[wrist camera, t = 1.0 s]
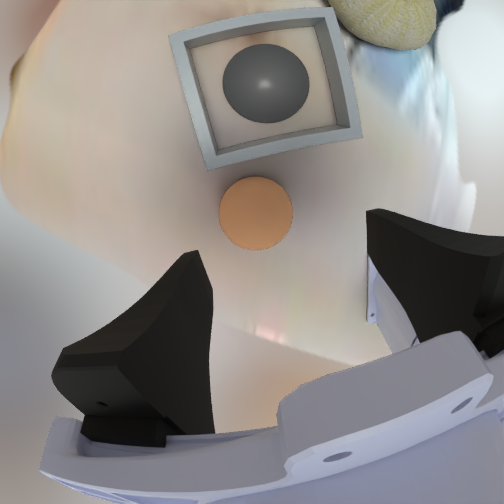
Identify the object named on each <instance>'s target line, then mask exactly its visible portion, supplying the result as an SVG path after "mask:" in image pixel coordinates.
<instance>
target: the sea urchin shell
mask: <svg viewBox="0 0 504 504" xmlns="http://www.w3.org/2000/svg"><path fill="white" fill-rule="evenodd" d="M328 2H329V4H330V6H331V7H333V9H334V12H335V15H336V17H337V18H338V19H339V20H340V21H341V22H342V24H343V25H344V26H345V27H346V28H347V30H348V31H350V32H352V33H353V34H354V35H355V36H357V37H358V38H360V39H362V40H365V41H367V42H370V43H372V44H375V45H377V46H382V47H388V48H392V49H397V50H411V49H413V50H416V49H418V48H421V47H422V46H424V45H425V44H427V43H428V41H429V40H430V38H431V36H432V34H433V32H434V30H436V8H435V5H434V0H328Z"/></svg>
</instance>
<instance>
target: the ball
mask: <svg viewBox="0 0 504 504" xmlns="http://www.w3.org/2000/svg"><path fill="white" fill-rule="evenodd" d="M292 218H293V209H292V204H291V201H290V198H289V196H288V195H287V193H286V192H285V190H284V189H283V188H282V187H281V186H280V185H279V184H277V183H276V182H274V181H272V180H270V179H267V178H264V177H247V178H244V179H241V180H239V181H237V182H236V183H234V184H233V185H232V186H231V187H230V188H229V189H228V190H227V191H226V192H225V194H224V195H223V197H222V200H221V202H220V206H219V221H220V225H221V227H222V229H223V231H224V233H225V235H226V236H227V237H228V238H229V239H230V240H231V241H232V242H233V243H234V244H236V245H238V246H240V247H242V248H245V249H248V250H263V249H267V248H270V247H272V246H274V245H276V244H277V243H278V242H280V241H281V240H282V239H283V238H284V237H285V235H286V234H287V232H288V231H289V228H290V226H291V223H292Z"/></svg>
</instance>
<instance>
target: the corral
mask: <svg viewBox="0 0 504 504" xmlns="http://www.w3.org/2000/svg"><path fill="white" fill-rule="evenodd" d="M307 26H314V27H315V30H316V34H317V37H318V41H319V44H320V48H321V52H322V55H323V59H324V63H325V67H326V71H327V76H328V80H329V84H330V89H331V93H332V98H333V103H334V108H335V113H336V119H337V124H338V125H332V126H326V127H320V128H314V129H308V130H302V131H297V132H292V133H287V134H282V135H277V136H273V137H268V138H264V139H259V140H255V141H251V142H247V143H243V144H239V145H235V146H231V147H227V148H223V149H220V150H218V148H217V145H216V141H215V138H214V134H213V131H212V127H211V124H210V120H209V117H208V113H207V110H206V106H205V103H204V99H203V96H202V92H201V89H200V85H199V81H198V78H197V74H196V71H195V67H194V64H193V60H192V57H191V53H190V49H191V48H194V47H198V46H201V45H205V44H209V43H212V42H216V41H220V40H224V39H229V38H233V37H238V36H243V35H248V34H253V33H259V32H265V31H271V30H279V29H287V28H296V27H307ZM168 36H169V40H170V44H171V47H172V51H173V55H174V58H175V62H176V65H177V69H178V73H179V76H180V80H181V83H182V87H183V90H184V94H185V97H186V101H187V104H188V108H189V111H190V115H191V118H192V121H193V125H194V128H195V132H196V135H197V138H198V142H199V145H200V148H201V152H202V155H203V158H204V162H205V165H206V168H207V171H209V170H213V169H216V168H220V167H224V166H227V165H231V164H235V163H239V162H243V161H247V160H251V159H255V158H259V157H263V156H268V155H272V154H276V153H281V152H286V151H290V150H295V149H300V148H305V147H310V146H316V145H321V144H327V143H333V142H338V141H345V140H351V139H358V138H363V135H362V129H361V122H360V116H359V110H358V104H357V99H356V94H355V89H354V84H353V79H352V75H351V70H350V66H349V62H348V58H347V54H346V50H345V46H344V42H343V39H342V35H341V32H340V28H339V25H338V22H337V18H336V15H335V12H334V9H333V7H315V8H297V9H286V10H277V11H269V12H262V13H255V14H249V15H244V16H239V17H234V18H229V19H224V20H220V21H216V22H212V23H208V24H204V25H200V26H197V27H193V28H190V29H187V30H184V31H180V32H177V33H174V34H171V35H168ZM223 89H224V93H225V96H226V98H227V100H228V102H229V104H230V105H231V106H232V108H233V109H234V110H235V111H236V112H238V113H239V114H240V115H242V116H243V117H245V118H247V119H249V120H252V121H255V122H260V123H274V122H279V121H282V120H285V119H287V118H289V117H291V116H292V115H294V114H295V113H296V112H297V111H298V110H299V109H300V108H301V107H302V106H303V104H304V103H305V101H306V98H307V96H308V92H309V77H308V73H307V70H306V68H305V66H304V65H303V63H302V62H301V60H300V59H299V58H298V57H297V56H296V55H295V54H293V53H292V52H290V51H289V50H287V49H285V48H283V47H280V46H277V45H271V44H259V45H254V46H250V47H248V48H245V49H243V50H242V51H240V52H239V53H237V54H236V55H235V56H234V57H233V58H232V59H231V60H230V62H229V63H228V65H227V67H226V69H225V72H224V76H223Z"/></svg>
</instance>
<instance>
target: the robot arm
mask: <svg viewBox="0 0 504 504" xmlns="http://www.w3.org/2000/svg"><path fill="white" fill-rule="evenodd" d="M366 223H367V253H368V306H367V323H368V324H374V323H377V325H378V326H379V328H380V330H381V332H382V334H383V336H384V338H385V339H386V341H387V343H388V345H389V347H390V349H391V351H392V353H393V354H391V355H388V356H386V357H383V358H380V359H377V360H374V361H371V362H368V363H365V364H362V365H358V366H355V367H352V368H349V369H345V370H342V371H339V372H335V373H331V374H327V375H325V376H322V377H320V378H317V379H315V380H312V381H310V382H307V383H304V384H302V385H300V386H299V387H298V388H296V389H295V390H294V391H292V392H291V393H290V394H288V395H287V396H286V397H285V398H283V399H282V400H281V401H280V403H279V407H278V411H277V422H278V426H273V427H267V428H261V429H254V430H246V431H238V432H229V433H219V434H215V429H214V421H213V413H212V404H211V392H210V375H209V349H210V339H211V329H212V318H213V289H212V286H211V283H210V281H209V278H208V276H207V273H206V270H205V268H204V265H203V262H202V260H201V257H200V254H199V252H198V250H195V251H191V252H187V253H184V254H183V255H181V256H180V257H179V258H178V259H177V260H176V262H175V263H174V264H173V265H172V266H171V267H170V268H169V269H168V270H167V272H166V273H165V274H164V275H163V276H162V277H161V278H160V279H159V280H158V281H157V282H156V284H155V285H154V286H153V287H152V288H151V289H150V290H149V291H148V292H147V293H146V294H145V295H144V296H143V297H142V298H141V299H139V301H137V302H136V303H135V304H134V305H133V306H131V307H130V308H129V309H128V310H126V311H125V312H124V313H122V314H121V315H120V316H118V317H117V318H116V319H114V320H113V321H112V322H110V323H109V324H107V325H106V326H104V327H102V328H101V329H99V330H98V331H96V332H94V333H93V334H91V335H89V336H87V337H85V338H84V339H82V340H80V341H77V342H75V343H74V344H71V345H69V346H67V347H65V348H63V350H62V352H61V354H60V356H59V358H58V360H57V362H56V365H55V367H54V369H53V371H52V375H51V376H52V380H53V383H54V385H55V386H56V388H57V390H58V391H59V392H60V393H61V394H62V395H63V396H64V397H65V398H66V399H67V400H68V401H70V402H71V403H72V404H73V405H74V406H75V407H76V408H77V409H79V410H80V411H81V412H82V413H83V414H84V415H85V416H84V420H83V422H82V421H79V420H77V419H73V418H67V417H61V416H55V417H54V419H53V422H52V425H51V428H50V431H49V435H48V438H47V441H46V445H45V449H44V452H43V456H42V460H41V464H40V468H39V470H40V472H41V473H43V474H44V475H46V476H48V477H50V478H52V479H54V480H56V481H58V482H60V483H62V484H64V485H66V486H68V487H70V488H72V489H74V490H76V491H79V492H81V493H83V494H86V495H88V496H92V497H95V498H99V499H102V500H106V501H110V502H114V503H118V504H504V236H486V235H478V234H471V233H465V232H459V231H455V230H451V229H446V228H442V227H438V226H435V225H432V224H428V223H425V222H422V221H419V220H416V219H413V218H410V217H407V216H404V215H401V214H398V213H395V212H392V211H388V210H385V209H379V208H378V209H373V210H369V211H366Z"/></svg>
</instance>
